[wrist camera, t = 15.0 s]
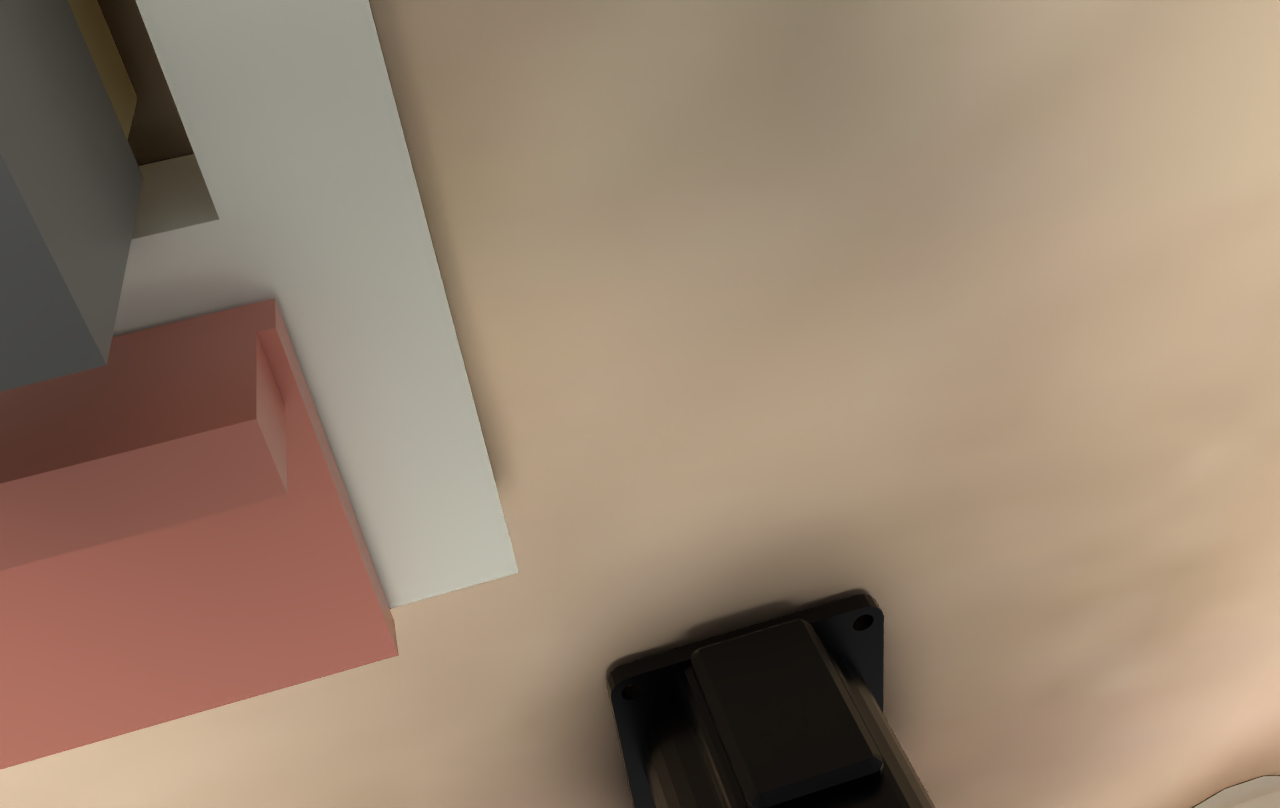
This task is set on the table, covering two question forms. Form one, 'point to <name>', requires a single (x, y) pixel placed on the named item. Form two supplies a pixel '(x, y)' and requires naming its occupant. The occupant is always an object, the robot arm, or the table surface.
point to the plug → (62, 188)
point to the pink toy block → (173, 537)
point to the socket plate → (322, 265)
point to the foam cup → (1248, 795)
